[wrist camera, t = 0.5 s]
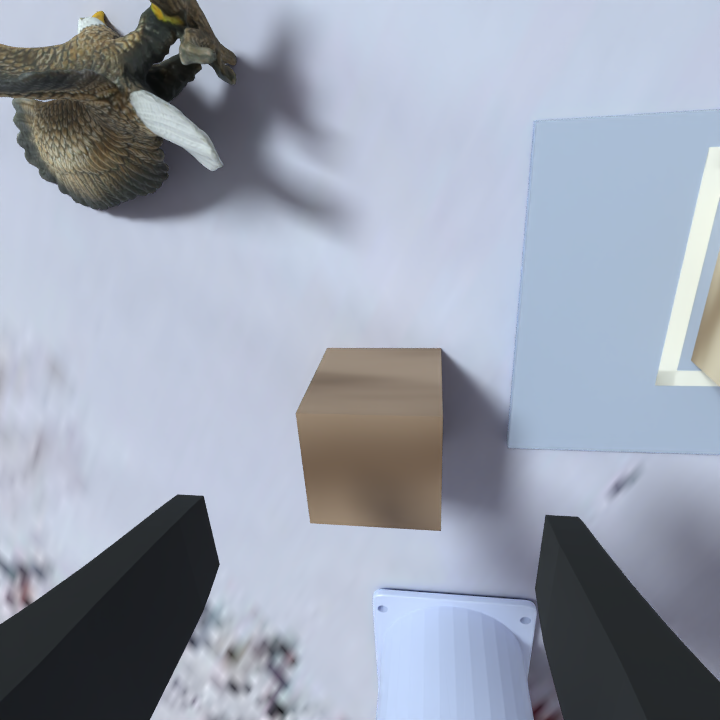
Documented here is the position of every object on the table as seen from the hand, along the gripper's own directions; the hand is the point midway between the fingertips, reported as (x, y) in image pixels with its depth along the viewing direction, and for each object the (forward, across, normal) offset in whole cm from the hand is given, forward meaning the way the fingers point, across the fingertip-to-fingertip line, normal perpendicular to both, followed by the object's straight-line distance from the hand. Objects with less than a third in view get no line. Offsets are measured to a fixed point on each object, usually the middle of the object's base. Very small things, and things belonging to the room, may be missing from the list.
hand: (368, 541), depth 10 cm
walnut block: (+10, +1, +2) cm, 10 cm away
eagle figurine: (+10, +9, -10) cm, 17 cm away
